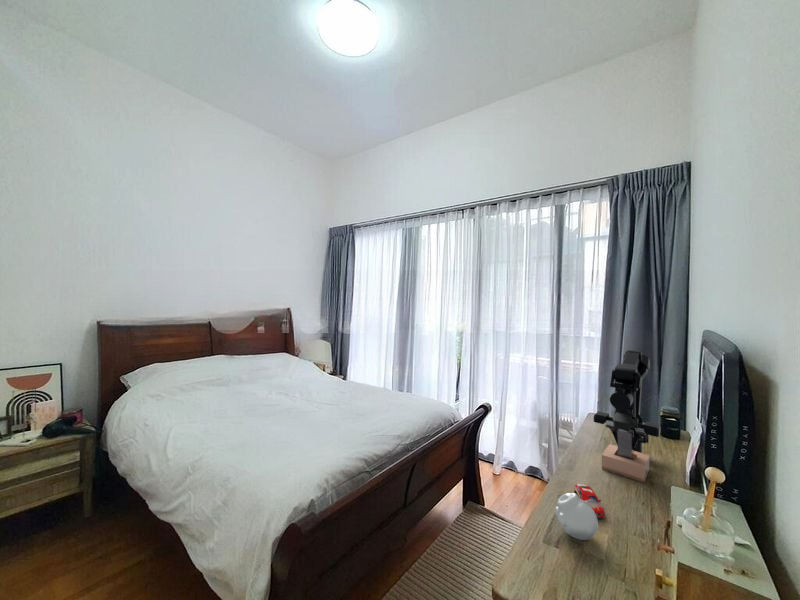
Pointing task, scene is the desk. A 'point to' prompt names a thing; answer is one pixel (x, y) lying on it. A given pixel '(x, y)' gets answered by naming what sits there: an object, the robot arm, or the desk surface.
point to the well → (626, 464)
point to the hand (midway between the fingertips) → (625, 447)
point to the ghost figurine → (576, 516)
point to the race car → (590, 499)
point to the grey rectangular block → (625, 444)
